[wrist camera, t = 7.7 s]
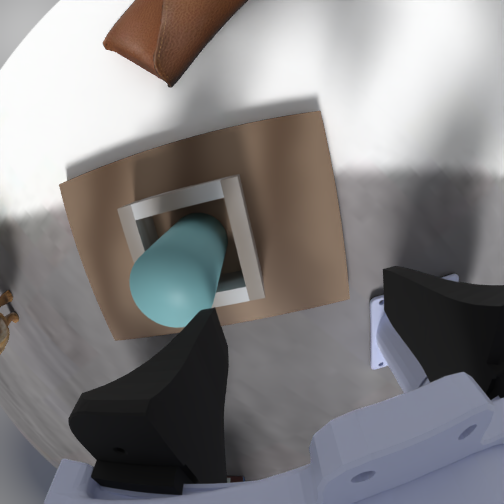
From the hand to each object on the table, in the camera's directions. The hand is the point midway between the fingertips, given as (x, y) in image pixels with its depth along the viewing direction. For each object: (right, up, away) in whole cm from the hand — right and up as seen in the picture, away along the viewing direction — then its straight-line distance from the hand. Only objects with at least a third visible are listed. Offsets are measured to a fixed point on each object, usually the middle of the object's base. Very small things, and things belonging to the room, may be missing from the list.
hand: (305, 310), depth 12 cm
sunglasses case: (-6, +23, +4) cm, 24 cm away
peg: (-6, +3, +9) cm, 11 cm away
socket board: (-6, +3, +10) cm, 12 cm away
